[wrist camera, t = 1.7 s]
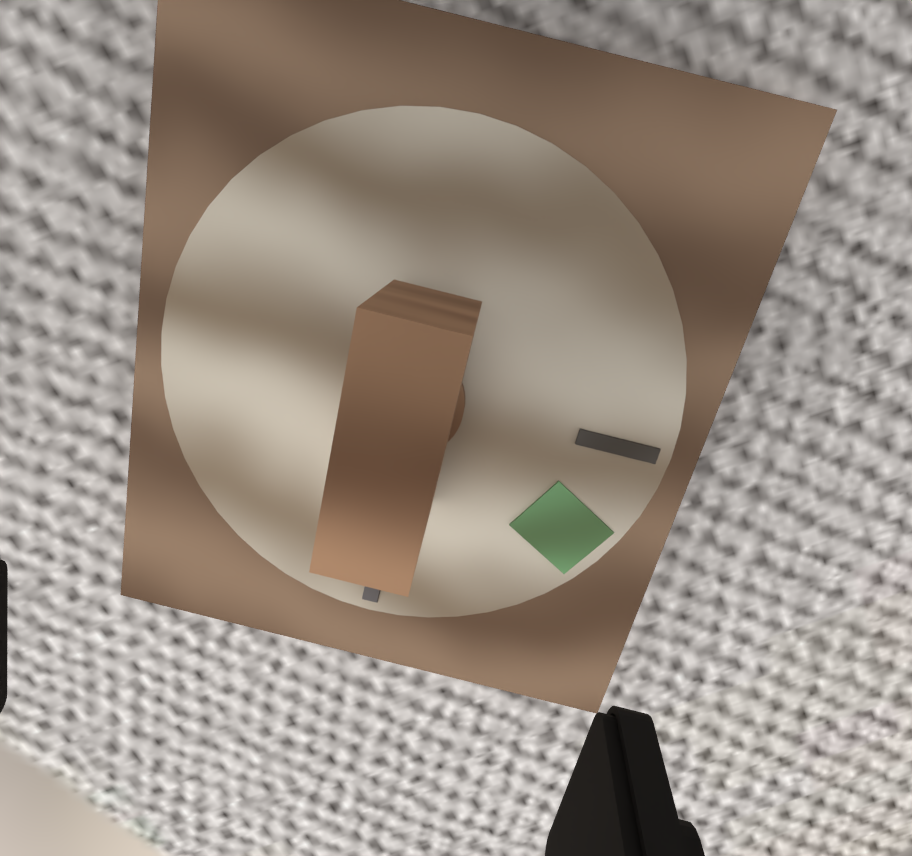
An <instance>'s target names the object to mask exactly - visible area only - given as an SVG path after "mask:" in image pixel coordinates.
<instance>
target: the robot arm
mask: <svg viewBox="0 0 912 856" xmlns="http://www.w3.org/2000/svg"><path fill="white" fill-rule="evenodd" d="M6 699H7V564H6V563H5V561H3V560H0V713H1V711H2V709H3V707H4V705H5V702H6ZM545 856H705V855H704V851H703V848H702V844H701V841H700V838H699V836H698V833H697V831H696V828H695V827H694V826H693V825H692V824H691V822H688V821H684V820H680V819H678V815H677V811H676V808H675V804H674V800H673V796H672V792H671V788H670V785H669V781H668V777H667V773H666V769H665V765H664V762H663V758H662V754H661V750H660V746H659V743H658V739H657V735H656V731H655V727H654V723H653V721H652V718H651V716H649V715H648V714H645V713H641V712H637V711H633V710H629V709H625V708H621V707H617V706H612V707H611V708H610V709H609V710H608V712H607V714H604V713H600V712H598V713H597V714H596V715H595V717H594V719H593V722H592V725H591V727H590V730H589V732H588V735H587V737H586V740H585V743H584V745H583V748H582V750H581V753H580V755H579V758H578V761H577V763H576V766H575V768H574V771H573V773H572V776H571V778H570V781H569V784H568V786H567V789H566V791H565V794H564V796H563V799H562V802H561V804H560V807H559V809H558V812H557V814H556V817H555V820H554V822H553V825H552V827H551V830H550V832H549V836H548V839H547V844H546V851H545Z"/></svg>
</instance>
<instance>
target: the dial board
mask: <svg viewBox="0 0 912 856" xmlns="http://www.w3.org/2000/svg"><path fill="white" fill-rule="evenodd" d="M836 111H837V110H835V109H831V108H827V107H823V106H820V105H816V104H812V103H808V102H804V101H800V100H796V99H792V98H788V97H784V96H780V95H776V94H772V93H768V92H764V91H760V90H756V89H752V88H748V87H744V86H740V85H736V84H732V83H728V82H724V81H720V80H716V79H712V78H708V77H704V76H700V75H696V74H692V73H688V72H684V71H680V70H676V69H672V68H668V67H664V66H660V65H656V64H652V63H648V62H644V61H640V60H636V59H632V58H628V57H624V56H620V55H616V54H612V53H608V52H604V51H600V50H596V49H592V48H588V47H584V46H580V45H576V44H572V43H568V42H564V41H560V40H556V39H552V38H548V37H544V36H540V35H536V34H532V33H529V32H525V31H521V30H517V29H513V28H509V27H505V26H501V25H497V24H493V23H489V22H485V21H481V20H477V19H473V18H469V17H465V16H461V15H457V14H453V13H449V12H445V11H441V10H437V9H433V8H429V7H425V6H421V5H417V4H413V3H409V2H405V1H401V0H158V6H157V22H156V38H155V54H154V70H153V86H152V102H151V118H150V134H149V150H148V166H147V182H146V198H145V214H144V230H143V246H142V262H141V278H140V294H139V310H138V326H137V342H136V358H135V374H134V390H133V407H132V423H131V439H130V455H129V471H128V487H127V503H126V519H125V535H124V551H123V567H122V583H121V595H123V596H127V597H131V598H135V599H139V600H143V601H147V602H151V603H155V604H159V605H163V606H167V607H171V608H175V609H179V610H183V611H188V612H192V613H196V614H200V615H204V616H208V617H212V618H216V619H220V620H224V621H228V622H232V623H236V624H240V625H244V626H248V627H252V628H256V629H260V630H264V631H268V632H272V633H276V634H280V635H284V636H288V637H292V638H296V639H300V640H304V641H308V642H312V643H316V644H320V645H324V646H328V647H332V648H336V649H340V650H344V651H348V652H352V653H356V654H360V655H364V656H368V657H372V658H376V659H380V660H384V661H388V662H392V663H396V664H400V665H404V666H409V667H413V668H417V669H421V670H425V671H429V672H433V673H437V674H441V675H445V676H449V677H453V678H457V679H461V680H465V681H469V682H473V683H477V684H481V685H485V686H489V687H493V688H497V689H501V690H505V691H509V692H513V693H517V694H521V695H525V696H529V697H533V698H537V699H541V700H545V701H549V702H553V703H557V704H561V705H565V706H569V707H573V708H577V709H581V710H585V711H589V712H593V713H597V712H598V710H599V707H600V705H601V702H602V700H603V697H604V695H605V692H606V690H607V687H608V685H609V682H610V680H611V677H612V675H613V672H614V670H615V667H616V665H617V662H618V660H619V657H620V655H621V652H622V650H623V647H624V644H625V642H626V639H627V637H628V634H629V632H630V629H631V627H632V624H633V622H634V619H635V617H636V614H637V612H638V609H639V607H640V604H641V602H642V599H643V597H644V594H645V592H646V589H647V587H648V584H649V582H650V579H651V577H652V574H653V572H654V569H655V567H656V564H657V561H658V559H659V556H660V554H661V551H662V549H663V546H664V544H665V541H666V539H667V536H668V534H669V531H670V529H671V526H672V524H673V521H674V519H675V516H676V514H677V511H678V509H679V506H680V504H681V501H682V499H683V496H684V494H685V491H686V489H687V486H688V484H689V481H690V479H691V476H692V473H693V471H694V468H695V466H696V463H697V461H698V458H699V456H700V453H701V451H702V448H703V446H704V443H705V441H706V438H707V436H708V433H709V431H710V428H711V426H712V423H713V421H714V418H715V416H716V413H717V411H718V408H719V406H720V403H721V401H722V398H723V396H724V393H725V391H726V388H727V385H728V383H729V380H730V378H731V375H732V373H733V370H734V368H735V365H736V363H737V360H738V358H739V355H740V353H741V350H742V348H743V345H744V343H745V340H746V338H747V335H748V333H749V330H750V328H751V325H752V323H753V320H754V318H755V315H756V313H757V310H758V308H759V305H760V302H761V300H762V297H763V295H764V292H765V290H766V287H767V285H768V282H769V280H770V277H771V275H772V272H773V270H774V267H775V265H776V262H777V260H778V257H779V255H780V252H781V250H782V247H783V245H784V242H785V240H786V237H787V235H788V232H789V230H790V227H791V225H792V222H793V220H794V217H795V214H796V212H797V209H798V207H799V204H800V202H801V199H802V197H803V194H804V192H805V189H806V187H807V184H808V182H809V179H810V177H811V174H812V172H813V169H814V167H815V164H816V162H817V159H818V157H819V154H820V152H821V149H822V147H823V144H824V142H825V139H826V137H827V134H828V131H829V129H830V126H831V124H832V121H833V119H834V116H835V114H836ZM393 280H398V281H402V282H406V283H410V284H414V285H418V286H422V287H426V288H430V289H434V290H438V291H442V292H446V293H450V294H454V295H458V296H462V297H466V298H470V299H474V300H478V301H482V305H481V309H480V313H479V317H478V321H477V325H476V329H475V333H474V337H473V341H472V345H471V349H470V353H469V357H468V362H467V366H466V370H465V374H464V378H463V382H462V383H463V386H464V390H465V408H464V413H463V418H462V421H461V424H460V426H459V428H458V430H457V432H456V433H455V435H454V436H453V437H452V438H451V439H450V441H448V442H447V446H446V450H445V454H444V458H443V463H442V467H441V471H440V475H439V479H438V483H437V487H436V491H435V495H434V499H433V503H432V507H431V511H430V515H429V519H428V523H427V526H426V530H425V534H424V538H423V542H422V546H421V549H420V553H419V557H418V561H417V565H416V569H415V572H414V576H413V580H412V584H411V588H410V592H409V596H408V597H406V596H402V595H398V594H394V593H390V592H386V591H382V590H380V592H379V597H378V600H377V603H376V602H372V601H368V600H364V599H362V596H363V591H364V587H365V586H362V585H358V584H354V583H350V582H346V581H342V580H338V579H334V578H330V577H326V576H322V575H318V574H314V573H310V572H309V569H310V564H311V558H312V553H313V547H314V542H315V536H316V531H317V525H318V520H319V514H320V508H321V503H322V497H323V492H324V486H325V481H326V475H327V470H328V464H329V459H330V453H331V447H332V442H333V436H334V431H335V425H336V420H337V414H338V409H339V403H340V398H341V392H342V386H343V381H344V375H345V370H346V364H347V359H348V353H349V348H350V342H351V337H352V331H353V326H354V320H355V314H356V309H357V307H358V306H359V305H361V304H362V303H363V302H365V301H366V300H367V299H369V298H370V297H371V296H373V295H374V294H375V293H377V292H378V291H379V290H381V289H382V288H383V287H385V286H386V285H387V284H389V283H390V282H391V281H393Z"/></svg>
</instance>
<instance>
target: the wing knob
mask: <svg viewBox="0 0 912 856" xmlns="http://www.w3.org/2000/svg"><path fill="white" fill-rule="evenodd" d="M481 305H482V301H478V300H474V299H470V298H466V297H462V296H458V295H454V294H450V293H446V292H442V291H438V290H434V289H430V288H426V287H422V286H418V285H414V284H410V283H406V282H402V281H398V280H393V281H391V282H390V283H389V284H387V285H386V286H385V287H383V288H382V289H381V290H379V291H378V292H377V293H375V294H374V295H373V296H371V297H370V298H369V299H367V300H366V301H365V302H363V303H362V304H361V305H359V306H358V307H357V309H356V314H355V320H354V326H353V331H352V337H351V342H350V348H349V353H348V359H347V364H346V370H345V375H344V381H343V386H342V392H341V398H340V403H339V409H338V414H337V420H336V425H335V431H334V436H333V442H332V447H331V453H330V459H329V464H328V470H327V475H326V481H325V486H324V492H323V497H322V503H321V508H320V514H319V520H318V525H317V531H316V536H315V542H314V547H313V553H312V558H311V564H310V569H309V572H310V573H314V574H318V575H322V576H326V577H330V578H334V579H338V580H342V581H346V582H350V583H354V584H358V585H362V586H365V587H364V591H363V596H362V599H364V600H368V601H372V602H376V603H377V600H378V597H379V592H380V590H382V591H386V592H390V593H394V594H398V595H402V596H406V597H408V596H409V592H410V588H411V584H412V580H413V576H414V572H415V569H416V565H417V561H418V557H419V553H420V549H421V546H422V542H423V538H424V534H425V530H426V526H427V523H428V519H429V515H430V511H431V507H432V503H433V499H434V495H435V491H436V487H437V483H438V479H439V475H440V471H441V467H442V463H443V458H444V454H445V450H446V446H447V442H448V441H450V439H451V438H452V437H453V436H454V435H455V433H456V432H457V430H458V428H459V426H460V424H461V421H462V418H463V413H464V408H465V390H464V386H463V383H462V382H463V378H464V374H465V370H466V366H467V362H468V357H469V353H470V349H471V345H472V341H473V337H474V333H475V329H476V325H477V321H478V317H479V313H480V309H481Z"/></svg>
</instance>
